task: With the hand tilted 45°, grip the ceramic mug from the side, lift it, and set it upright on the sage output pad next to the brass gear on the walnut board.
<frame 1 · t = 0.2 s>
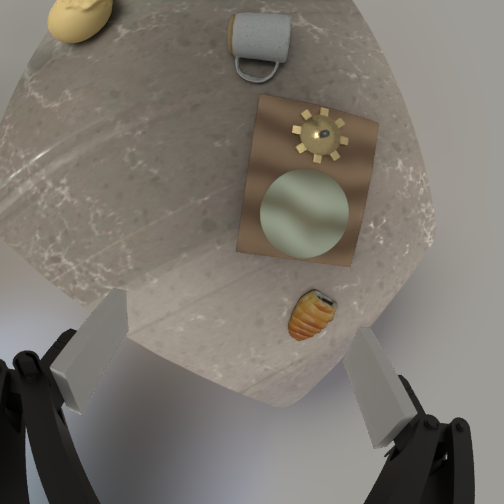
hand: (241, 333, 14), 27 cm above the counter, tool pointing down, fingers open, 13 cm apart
ceramic mug: (259, 53, 32), on the counter
pastry: (311, 310, 46), on the counter
gear board: (308, 182, 38), on the counter
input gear: (316, 136, 36), resting on gear board
sculpture: (93, 21, 28), on the counter
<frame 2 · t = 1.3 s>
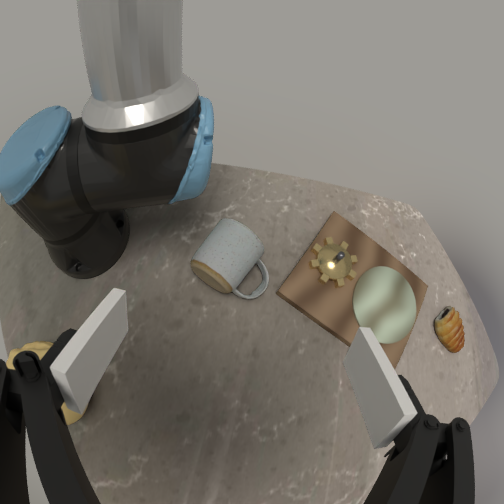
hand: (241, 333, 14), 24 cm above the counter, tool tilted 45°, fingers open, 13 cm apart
ceramic mug: (233, 270, 41), on the counter
pastry: (445, 329, 41), on the counter
gear board: (361, 291, 42), on the counter
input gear: (328, 267, 43), resting on gear board
sculpture: (66, 383, 30), on the counter
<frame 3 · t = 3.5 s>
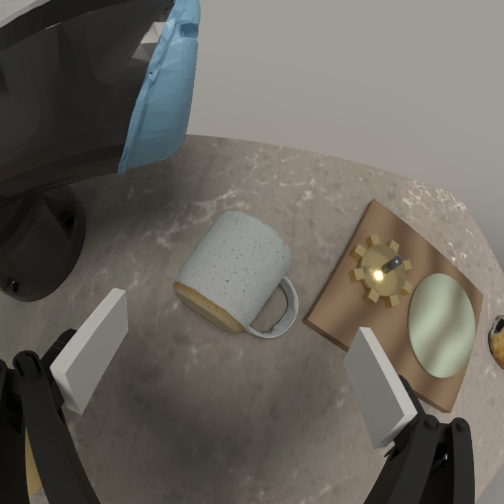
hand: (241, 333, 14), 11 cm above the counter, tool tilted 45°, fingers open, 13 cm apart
ceramic mug: (242, 292, 26), on the counter
pastry: (497, 343, 28), on the counter
gear board: (414, 309, 28), on the counter
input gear: (372, 277, 29), resting on gear board
sculpture: (20, 440, 15), on the counter
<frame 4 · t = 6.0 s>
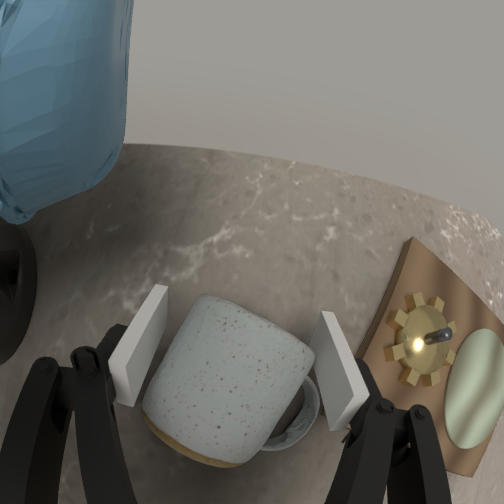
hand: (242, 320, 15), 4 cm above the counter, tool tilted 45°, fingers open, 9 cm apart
ceramic mug: (241, 386, 18), on the counter, touching gripper
gear board: (450, 374, 19), on the counter
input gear: (409, 343, 20), resting on gear board
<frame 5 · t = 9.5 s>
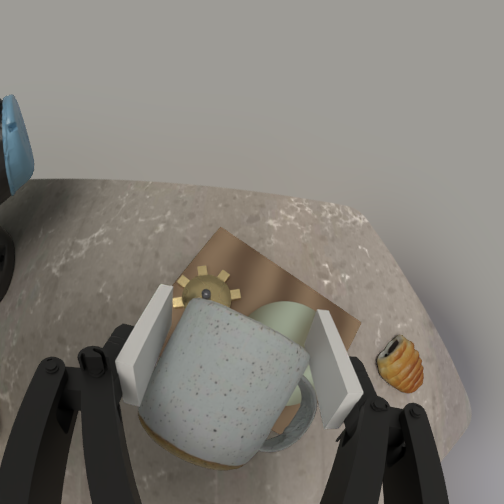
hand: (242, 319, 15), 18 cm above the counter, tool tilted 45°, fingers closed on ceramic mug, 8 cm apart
ceramic mug: (237, 388, 17), point 14 cm above the counter, touching gripper
pastry: (396, 364, 34), on the counter
gear board: (252, 335, 33), on the counter
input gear: (206, 302, 34), resting on gear board
when the fingers open (7 cm above the counter, at t = 12.6 s): ceramic mug drops 1 cm, resting on gear board.
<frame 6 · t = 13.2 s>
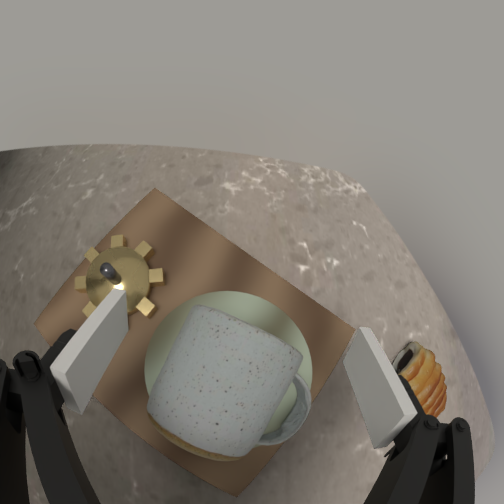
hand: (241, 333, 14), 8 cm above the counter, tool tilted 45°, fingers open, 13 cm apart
ceramic mug: (237, 386, 19), point 2 cm above the counter, touching gear board
pastry: (408, 384, 22), on the counter
gear board: (184, 339, 21), on the counter
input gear: (125, 288, 22), resting on gear board
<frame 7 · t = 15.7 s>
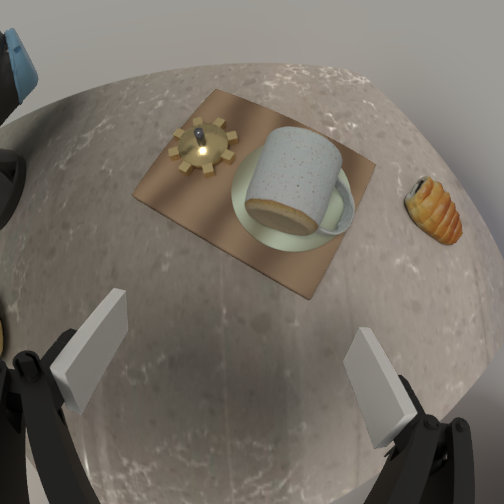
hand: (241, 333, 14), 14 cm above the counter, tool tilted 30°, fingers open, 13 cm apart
ceramic mug: (301, 200, 28), point 2 cm above the counter, touching gear board
pastry: (428, 212, 30), on the counter
gear board: (256, 179, 31), on the counter
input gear: (206, 154, 31), resting on gear board
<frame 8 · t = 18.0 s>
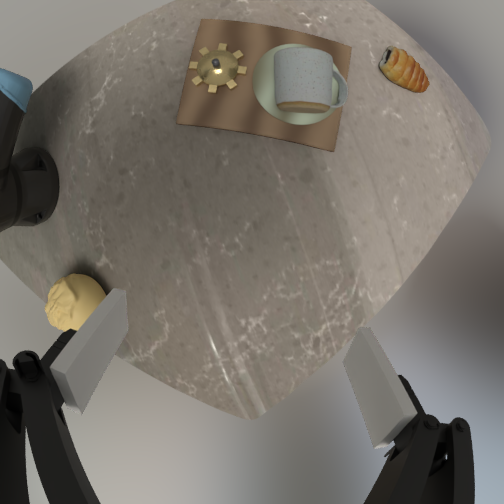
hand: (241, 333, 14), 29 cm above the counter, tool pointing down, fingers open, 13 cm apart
ceramic mug: (307, 87, 33), point 2 cm above the counter, touching gear board
pastry: (399, 70, 33), on the counter
gear board: (266, 78, 34), on the counter
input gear: (219, 72, 33), resting on gear board
sculpture: (89, 292, 46), on the counter
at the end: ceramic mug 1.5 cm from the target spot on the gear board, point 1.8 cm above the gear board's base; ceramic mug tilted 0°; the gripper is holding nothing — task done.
